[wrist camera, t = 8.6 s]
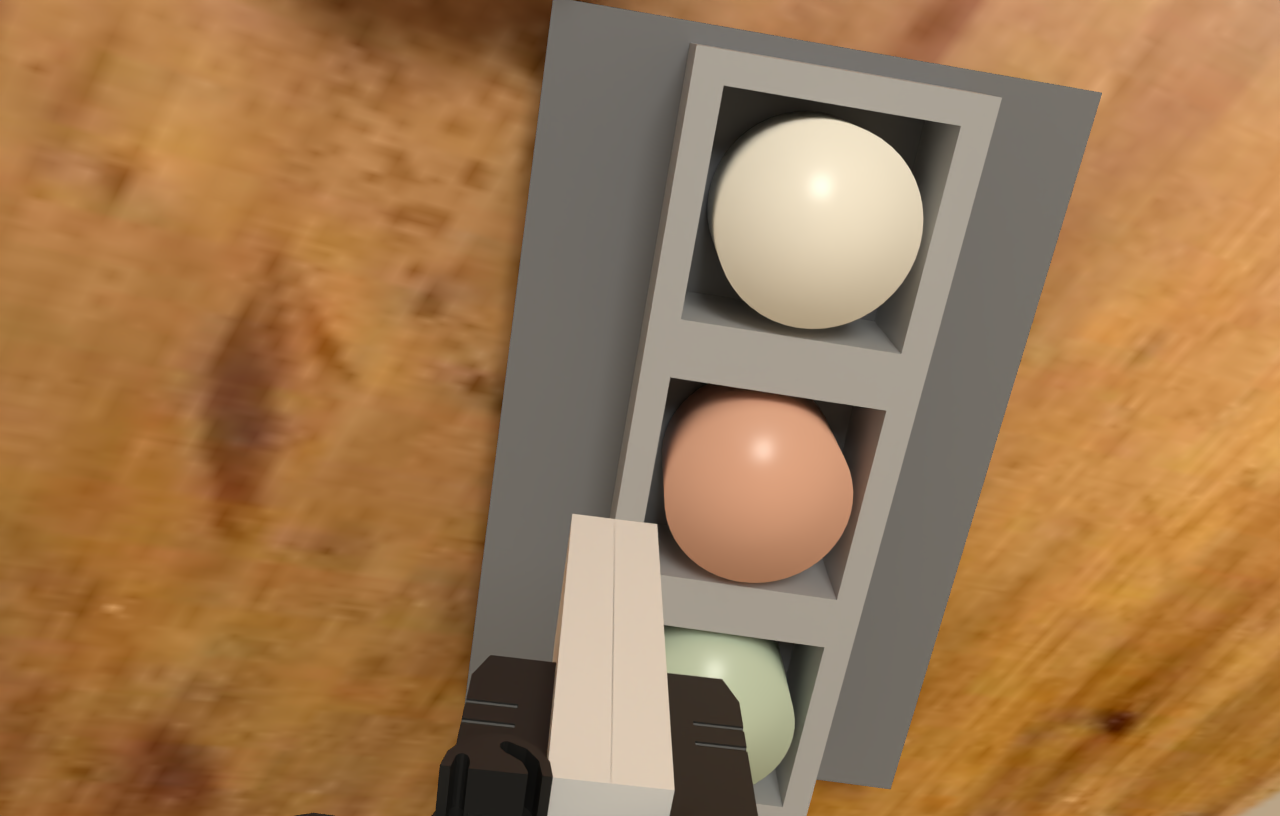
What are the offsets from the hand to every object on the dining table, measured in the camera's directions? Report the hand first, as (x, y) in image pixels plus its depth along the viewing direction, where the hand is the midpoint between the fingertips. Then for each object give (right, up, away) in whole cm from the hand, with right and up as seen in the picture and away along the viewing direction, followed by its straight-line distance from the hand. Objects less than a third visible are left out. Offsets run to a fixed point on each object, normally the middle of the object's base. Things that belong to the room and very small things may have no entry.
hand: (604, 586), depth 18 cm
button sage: (+2, -5, +13) cm, 14 cm away
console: (+4, +3, +13) cm, 14 cm away
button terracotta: (+4, +2, +11) cm, 11 cm away
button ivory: (+5, +8, +8) cm, 13 cm away
